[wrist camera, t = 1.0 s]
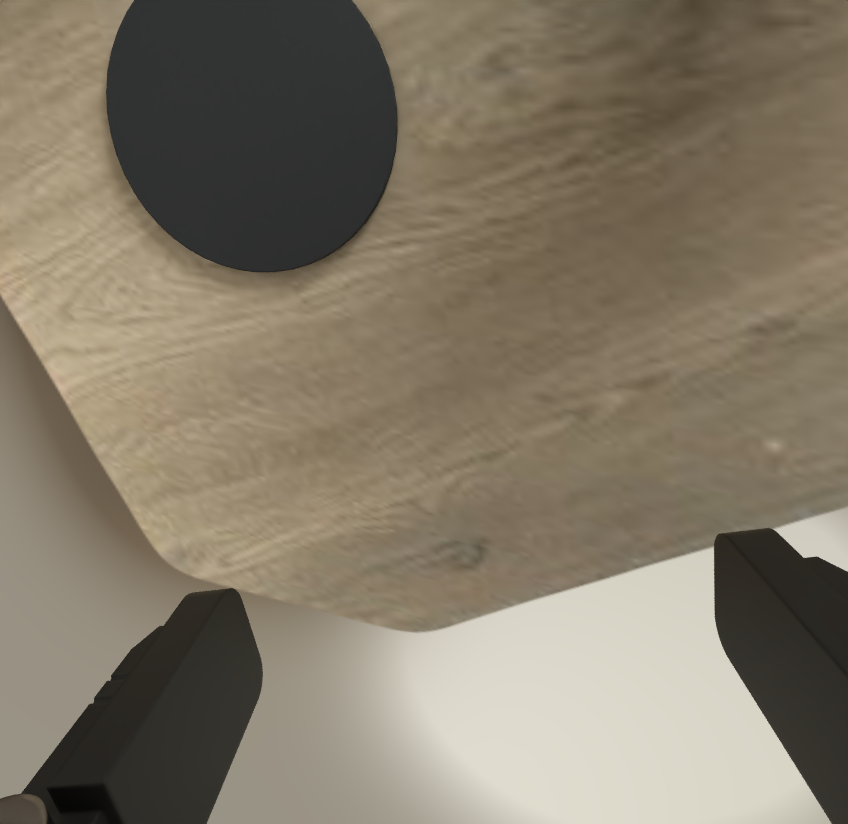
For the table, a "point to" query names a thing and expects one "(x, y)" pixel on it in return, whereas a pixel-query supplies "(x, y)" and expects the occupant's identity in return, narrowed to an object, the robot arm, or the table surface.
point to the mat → (253, 125)
